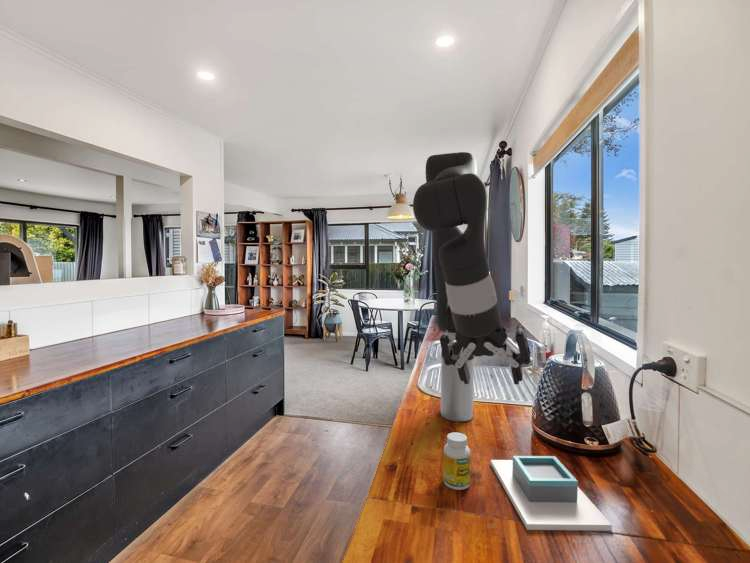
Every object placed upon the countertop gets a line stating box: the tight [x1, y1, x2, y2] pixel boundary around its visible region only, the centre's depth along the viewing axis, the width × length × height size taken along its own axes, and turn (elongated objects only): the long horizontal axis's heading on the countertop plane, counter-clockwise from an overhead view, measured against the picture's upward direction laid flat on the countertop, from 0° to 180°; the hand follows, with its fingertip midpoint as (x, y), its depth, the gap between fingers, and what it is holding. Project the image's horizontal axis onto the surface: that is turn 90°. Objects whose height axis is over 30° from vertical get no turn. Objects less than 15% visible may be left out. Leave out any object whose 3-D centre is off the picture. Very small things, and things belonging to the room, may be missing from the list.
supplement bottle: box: [442, 431, 472, 491], centre depth 74 cm, size 5×5×10 cm
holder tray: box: [490, 455, 613, 532], centre depth 71 cm, size 20×14×5 cm
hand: (491, 381), depth 65 cm, fingers open, 8 cm apart
